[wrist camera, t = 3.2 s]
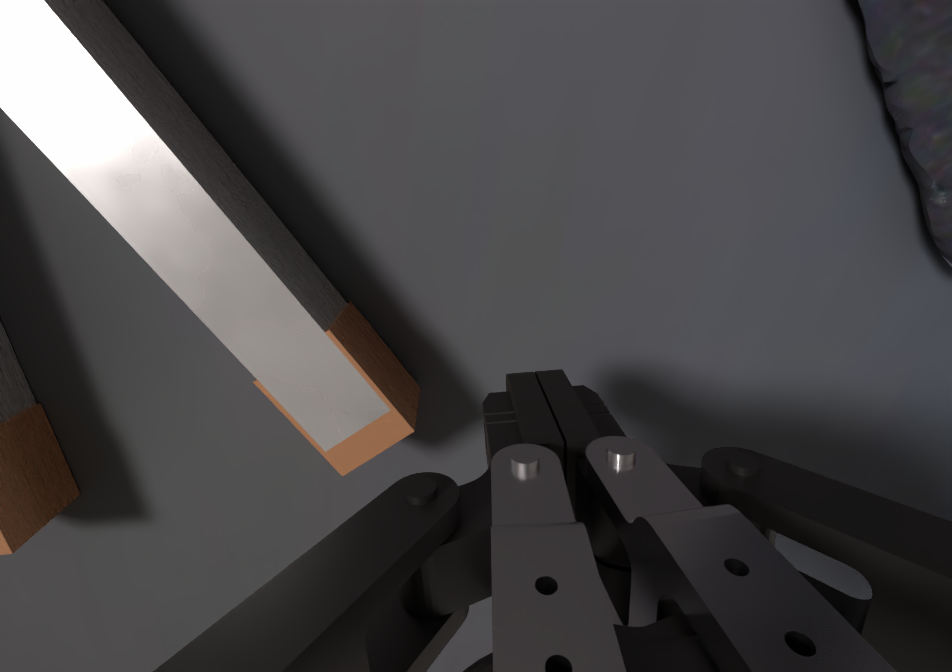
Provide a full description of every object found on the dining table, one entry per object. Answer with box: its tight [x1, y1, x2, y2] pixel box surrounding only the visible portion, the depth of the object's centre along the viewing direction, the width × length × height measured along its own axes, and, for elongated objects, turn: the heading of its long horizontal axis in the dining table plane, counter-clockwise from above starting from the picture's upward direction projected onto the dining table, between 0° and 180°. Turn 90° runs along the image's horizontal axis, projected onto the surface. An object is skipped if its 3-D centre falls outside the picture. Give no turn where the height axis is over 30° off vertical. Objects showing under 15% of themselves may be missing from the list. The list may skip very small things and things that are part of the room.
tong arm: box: [0, 0, 421, 476], centre depth 13 cm, size 19×3×3 cm, turn 34°
